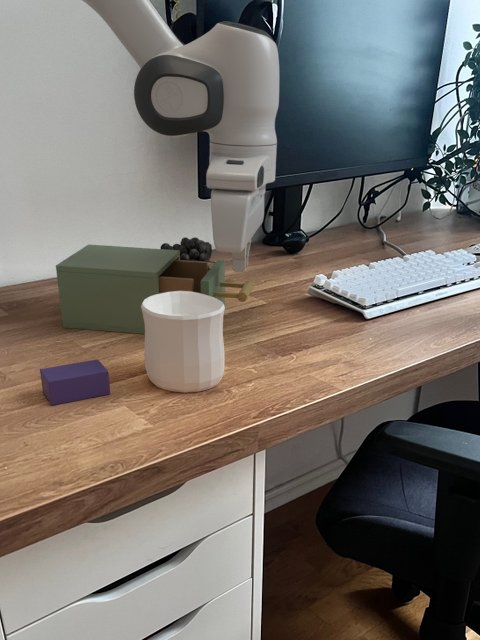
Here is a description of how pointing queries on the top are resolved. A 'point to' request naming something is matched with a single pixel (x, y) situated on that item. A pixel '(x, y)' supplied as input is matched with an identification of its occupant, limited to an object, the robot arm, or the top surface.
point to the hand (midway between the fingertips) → (240, 269)
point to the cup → (184, 341)
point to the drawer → (201, 280)
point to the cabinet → (110, 286)
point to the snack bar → (75, 381)
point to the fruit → (192, 250)
